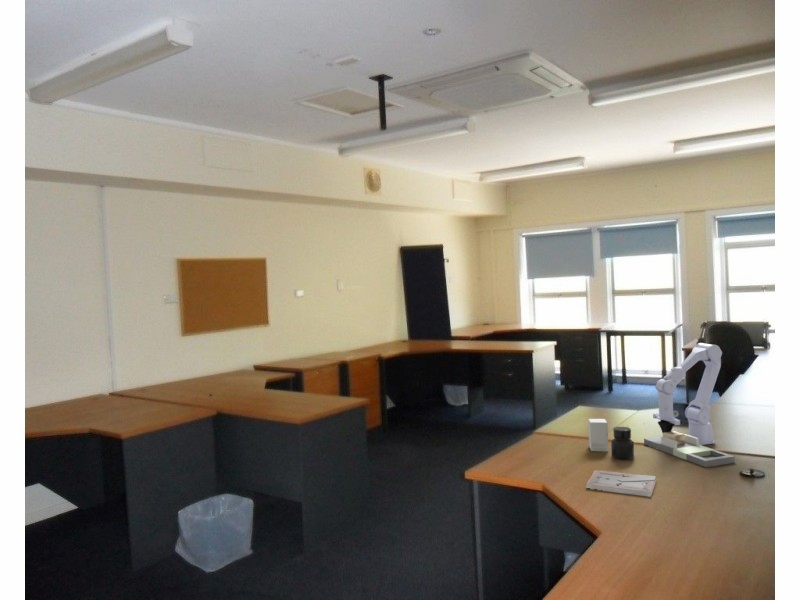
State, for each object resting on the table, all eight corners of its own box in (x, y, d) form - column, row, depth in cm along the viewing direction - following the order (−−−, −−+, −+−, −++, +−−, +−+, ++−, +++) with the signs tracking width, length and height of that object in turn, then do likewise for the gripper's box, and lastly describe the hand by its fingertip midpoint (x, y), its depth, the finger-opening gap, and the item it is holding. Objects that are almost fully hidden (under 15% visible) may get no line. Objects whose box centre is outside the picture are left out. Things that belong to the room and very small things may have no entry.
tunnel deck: (670, 440, 271) (669, 428, 271) (734, 462, 237) (734, 448, 237) (644, 444, 268) (643, 431, 267) (705, 467, 233) (705, 453, 233)
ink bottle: (634, 454, 253) (634, 426, 252) (635, 461, 245) (635, 431, 244) (610, 453, 256) (609, 425, 256) (610, 459, 248) (609, 430, 247)
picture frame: (656, 482, 220) (595, 475, 231) (656, 476, 220) (595, 469, 231) (651, 498, 206) (586, 490, 216) (650, 491, 206) (586, 483, 216)
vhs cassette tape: (706, 424, 297) (705, 404, 296) (705, 425, 294) (705, 405, 294) (666, 420, 307) (665, 401, 306) (665, 422, 304) (664, 402, 304)
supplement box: (608, 451, 259) (607, 422, 258) (590, 451, 260) (589, 422, 260) (606, 446, 266) (605, 418, 266) (588, 446, 268) (587, 418, 267)
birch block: (674, 440, 263) (674, 431, 263) (684, 443, 257) (684, 434, 257) (663, 441, 261) (662, 432, 261) (673, 445, 256) (672, 435, 255)
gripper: (646, 404, 269) (647, 434, 269) (670, 411, 255) (670, 443, 255) (660, 403, 271) (661, 433, 271) (683, 409, 257) (684, 441, 257)
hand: (666, 437), depth 263 cm, fingers closed
